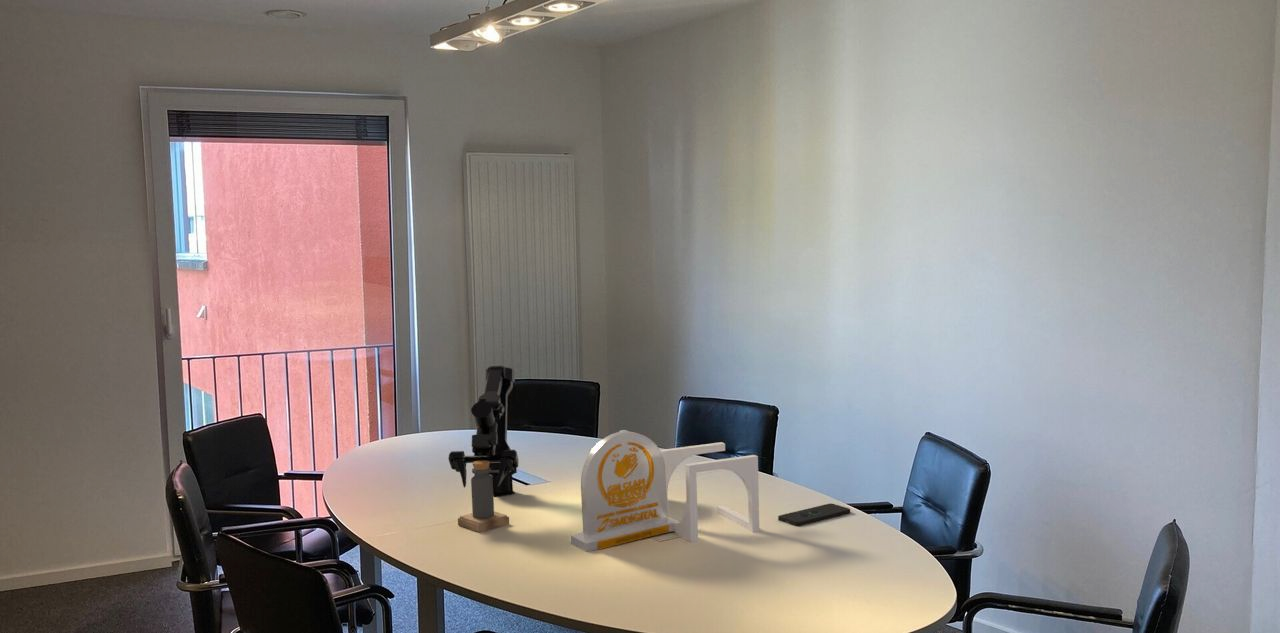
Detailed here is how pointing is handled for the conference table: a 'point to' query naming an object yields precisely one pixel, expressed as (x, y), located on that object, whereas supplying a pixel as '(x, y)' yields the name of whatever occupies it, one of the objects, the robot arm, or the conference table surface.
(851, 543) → the conference table surface
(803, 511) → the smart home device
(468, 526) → the plinth
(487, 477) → the bottle
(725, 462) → the white arched frame
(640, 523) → the award
